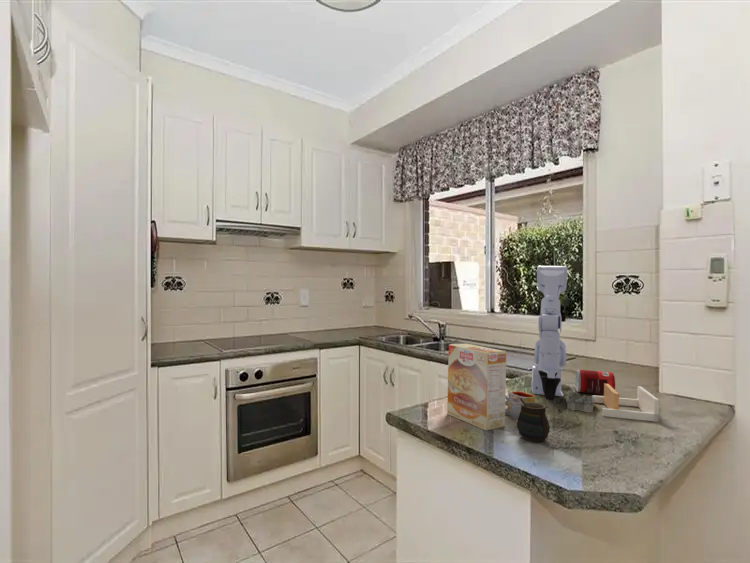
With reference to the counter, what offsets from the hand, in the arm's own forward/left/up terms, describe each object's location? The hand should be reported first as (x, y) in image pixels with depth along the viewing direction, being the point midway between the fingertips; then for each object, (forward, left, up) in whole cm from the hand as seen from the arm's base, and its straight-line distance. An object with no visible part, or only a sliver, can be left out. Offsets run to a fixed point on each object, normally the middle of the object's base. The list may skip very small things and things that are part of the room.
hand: (548, 396), depth 129 cm
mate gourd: (-6, -34, -2) cm, 35 cm away
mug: (-11, -17, -2) cm, 20 cm away
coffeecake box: (-20, -25, -2) cm, 32 cm away
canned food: (+22, +19, +2) cm, 30 cm away
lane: (+20, 0, -2) cm, 20 cm away
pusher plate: (+17, 0, -2) cm, 17 cm away
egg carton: (+9, 0, -2) cm, 10 cm away
